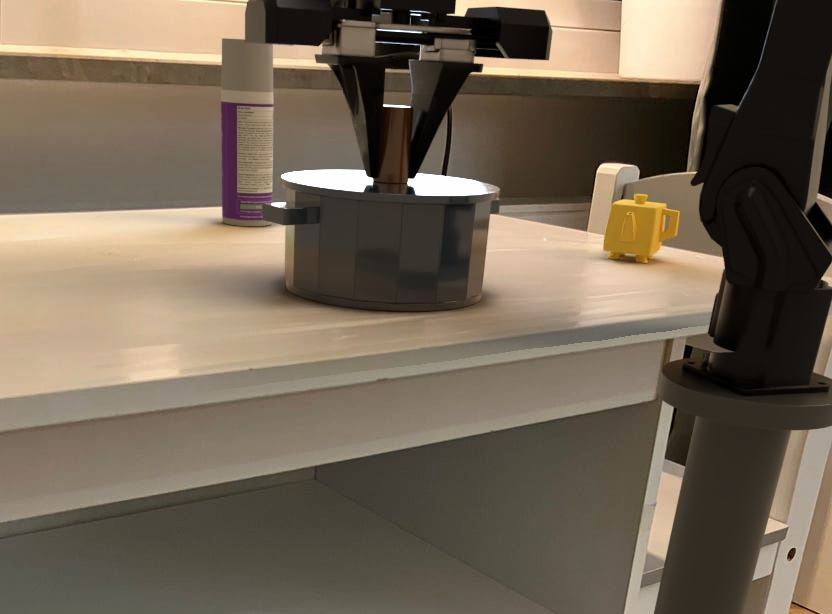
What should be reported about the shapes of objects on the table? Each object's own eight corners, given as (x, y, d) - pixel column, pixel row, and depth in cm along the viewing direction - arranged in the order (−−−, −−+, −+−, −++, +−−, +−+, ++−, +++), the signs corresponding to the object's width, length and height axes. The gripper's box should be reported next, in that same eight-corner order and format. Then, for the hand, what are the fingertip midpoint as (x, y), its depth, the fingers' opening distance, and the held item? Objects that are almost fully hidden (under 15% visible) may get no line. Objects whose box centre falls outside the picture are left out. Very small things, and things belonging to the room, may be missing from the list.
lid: (543, 209, 70) (556, 115, 67) (375, 218, 62) (381, 112, 59) (400, 184, 80) (405, 101, 77) (237, 189, 71) (237, 96, 69)
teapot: (661, 269, 88) (674, 202, 85) (593, 260, 90) (603, 195, 87) (678, 257, 94) (690, 194, 91) (614, 249, 96) (624, 188, 93)
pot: (548, 297, 74) (561, 198, 71) (335, 323, 64) (340, 208, 60) (419, 265, 83) (426, 176, 80) (215, 283, 73) (214, 181, 69)
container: (217, 218, 100) (215, 38, 93) (265, 219, 102) (267, 41, 94) (227, 226, 96) (226, 38, 89) (277, 226, 98) (280, 41, 91)
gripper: (492, -81, 72) (469, 168, 79) (224, -109, 66) (226, 162, 74) (573, -98, 63) (537, 186, 70) (269, -132, 57) (266, 180, 65)
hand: (390, 178), depth 70 cm, fingers closed on lid, 2 cm apart
